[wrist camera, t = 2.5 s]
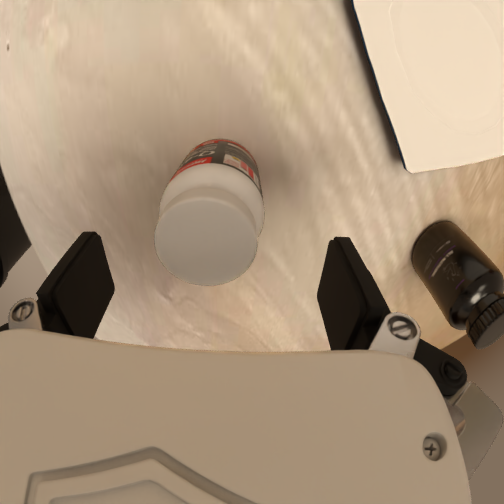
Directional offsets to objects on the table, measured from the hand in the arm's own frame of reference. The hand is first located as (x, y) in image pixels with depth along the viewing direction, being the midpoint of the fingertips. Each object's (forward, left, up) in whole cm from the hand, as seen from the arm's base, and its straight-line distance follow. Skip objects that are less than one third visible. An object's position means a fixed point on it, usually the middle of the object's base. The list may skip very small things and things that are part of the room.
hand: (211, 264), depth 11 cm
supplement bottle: (+22, -6, -12) cm, 25 cm away
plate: (+19, +14, -12) cm, 26 cm away
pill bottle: (0, 0, -12) cm, 12 cm away
